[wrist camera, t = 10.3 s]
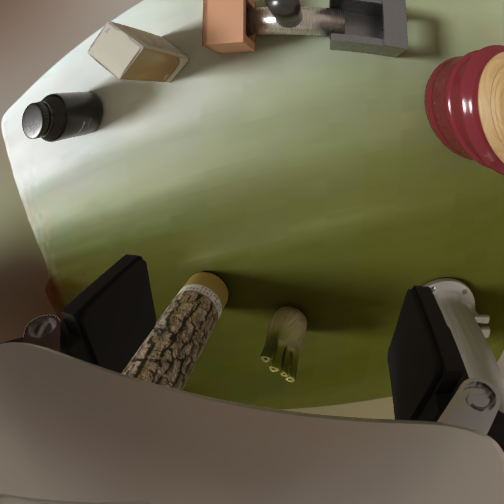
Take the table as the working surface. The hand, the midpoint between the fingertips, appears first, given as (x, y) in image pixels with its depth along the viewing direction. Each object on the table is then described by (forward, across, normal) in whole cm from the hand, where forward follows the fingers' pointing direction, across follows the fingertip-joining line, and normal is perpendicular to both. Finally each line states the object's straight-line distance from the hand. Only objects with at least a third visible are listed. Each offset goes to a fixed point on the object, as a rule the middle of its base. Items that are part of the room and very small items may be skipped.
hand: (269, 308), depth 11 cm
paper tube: (+31, +14, +20) cm, 39 cm away
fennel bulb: (+31, +1, +23) cm, 38 cm away
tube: (+30, +2, -18) cm, 35 cm away
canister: (+31, -20, -10) cm, 38 cm away
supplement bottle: (+31, +33, -8) cm, 46 cm away
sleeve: (+30, -6, -18) cm, 36 cm away
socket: (+30, +9, -18) cm, 36 cm away
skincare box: (+31, +19, -14) cm, 39 cm away
